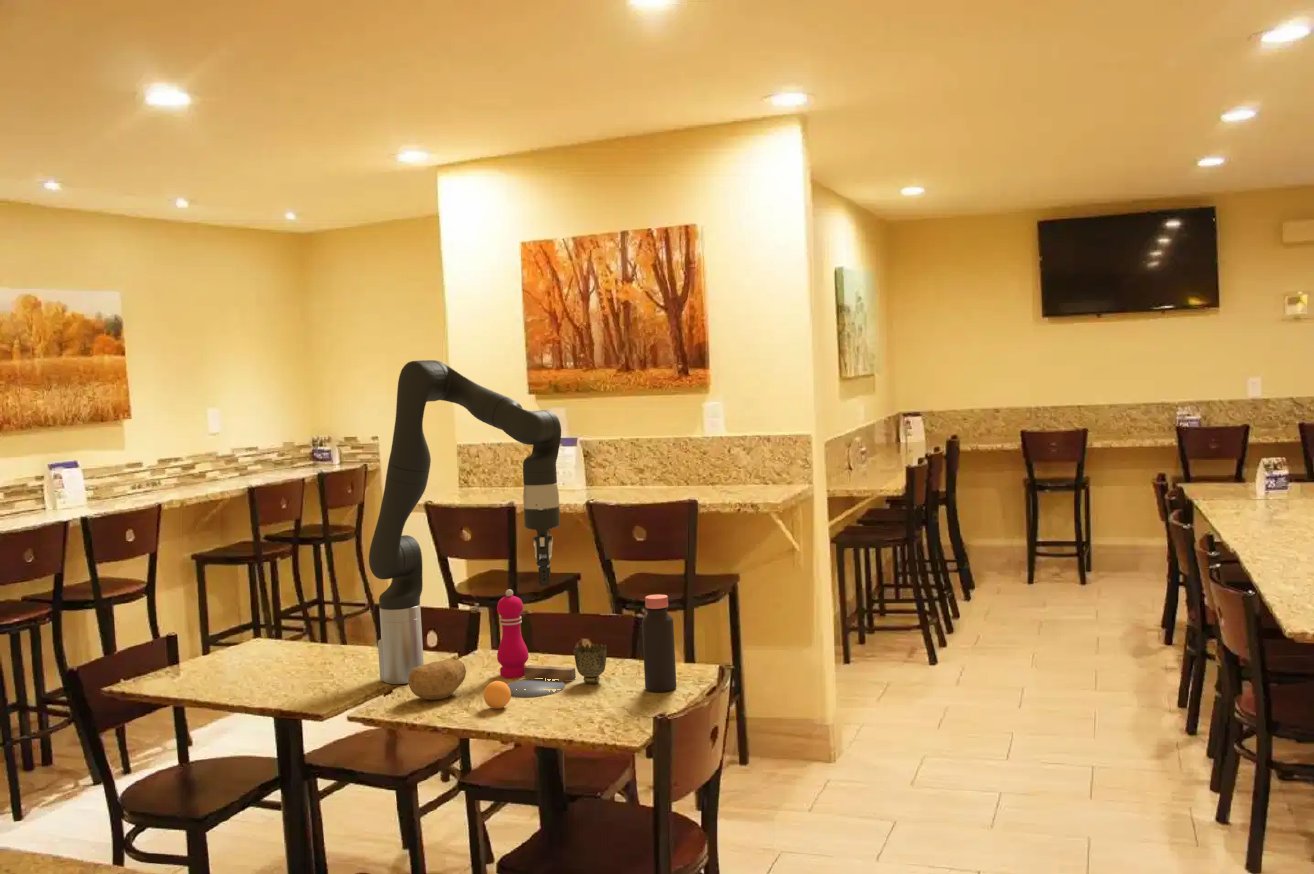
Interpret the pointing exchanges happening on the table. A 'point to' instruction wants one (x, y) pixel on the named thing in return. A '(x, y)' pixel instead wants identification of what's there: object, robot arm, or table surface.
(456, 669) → the potato
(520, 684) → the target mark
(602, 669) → the cup
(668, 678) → the bottle
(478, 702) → the table surface
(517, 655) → the pepper mill
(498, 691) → the ball
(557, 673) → the strip
